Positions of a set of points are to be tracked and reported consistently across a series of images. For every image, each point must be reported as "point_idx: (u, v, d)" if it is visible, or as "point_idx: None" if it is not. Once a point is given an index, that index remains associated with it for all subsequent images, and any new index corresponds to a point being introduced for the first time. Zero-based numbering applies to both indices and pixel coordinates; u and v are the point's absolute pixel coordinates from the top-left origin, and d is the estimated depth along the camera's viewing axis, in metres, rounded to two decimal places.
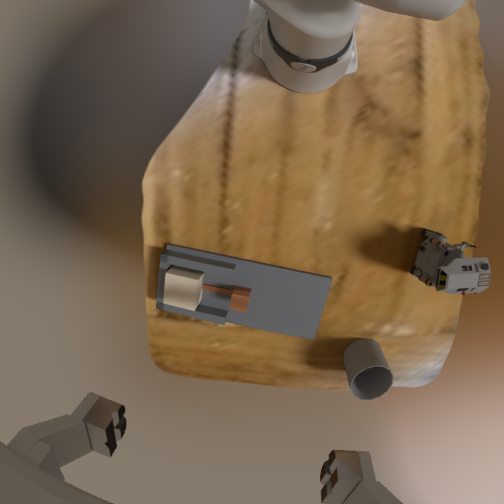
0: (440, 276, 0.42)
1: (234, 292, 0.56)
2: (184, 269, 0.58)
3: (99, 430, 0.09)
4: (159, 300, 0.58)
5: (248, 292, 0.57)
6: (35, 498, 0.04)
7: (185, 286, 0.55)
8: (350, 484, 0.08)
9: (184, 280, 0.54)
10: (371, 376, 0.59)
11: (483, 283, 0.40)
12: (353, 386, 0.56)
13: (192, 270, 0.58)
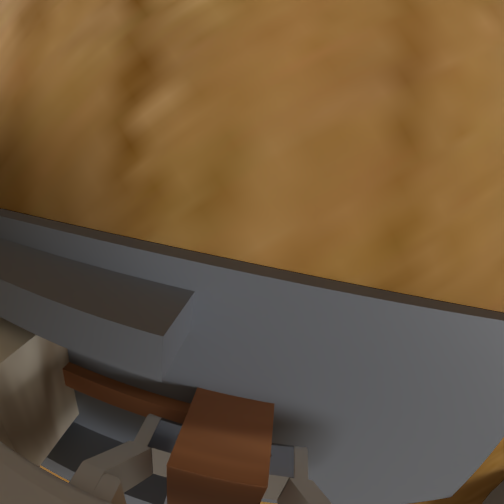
0: None
1: (182, 452, 0.08)
2: None
3: (168, 454, 0.09)
4: None
5: (262, 440, 0.09)
6: (35, 498, 0.04)
7: None
8: (280, 479, 0.08)
9: None
10: None
11: None
12: None
13: None
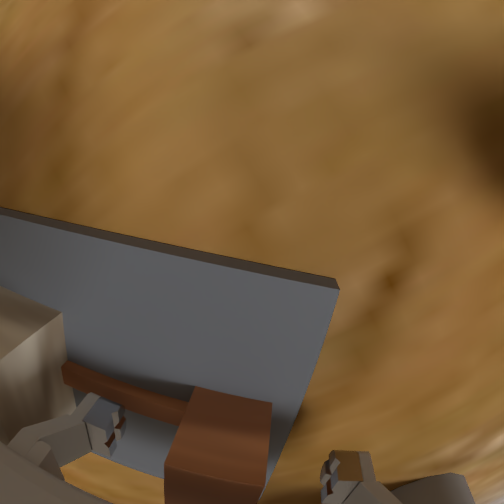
0: None
1: (180, 451, 0.08)
2: None
3: (99, 430, 0.09)
4: None
5: (259, 438, 0.09)
6: (35, 498, 0.04)
7: None
8: (350, 484, 0.08)
9: None
10: None
11: None
12: None
13: (11, 307, 0.10)
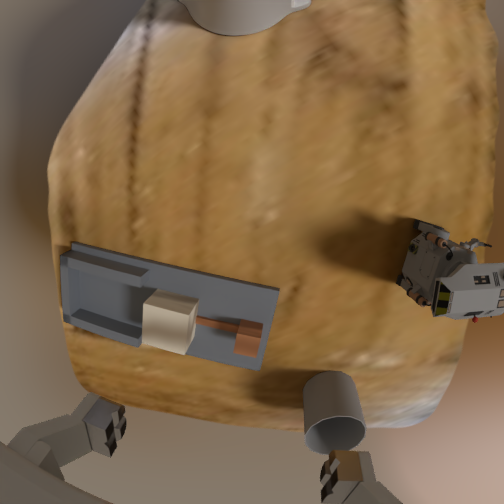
0: (439, 293, 0.26)
1: (240, 331, 0.39)
2: (170, 297, 0.41)
3: (99, 430, 0.09)
4: (65, 312, 0.42)
5: (259, 330, 0.40)
6: (35, 498, 0.04)
7: (171, 323, 0.38)
8: (350, 484, 0.08)
9: (170, 314, 0.38)
10: (339, 420, 0.43)
11: None
12: (312, 435, 0.40)
13: (181, 298, 0.41)
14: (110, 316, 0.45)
